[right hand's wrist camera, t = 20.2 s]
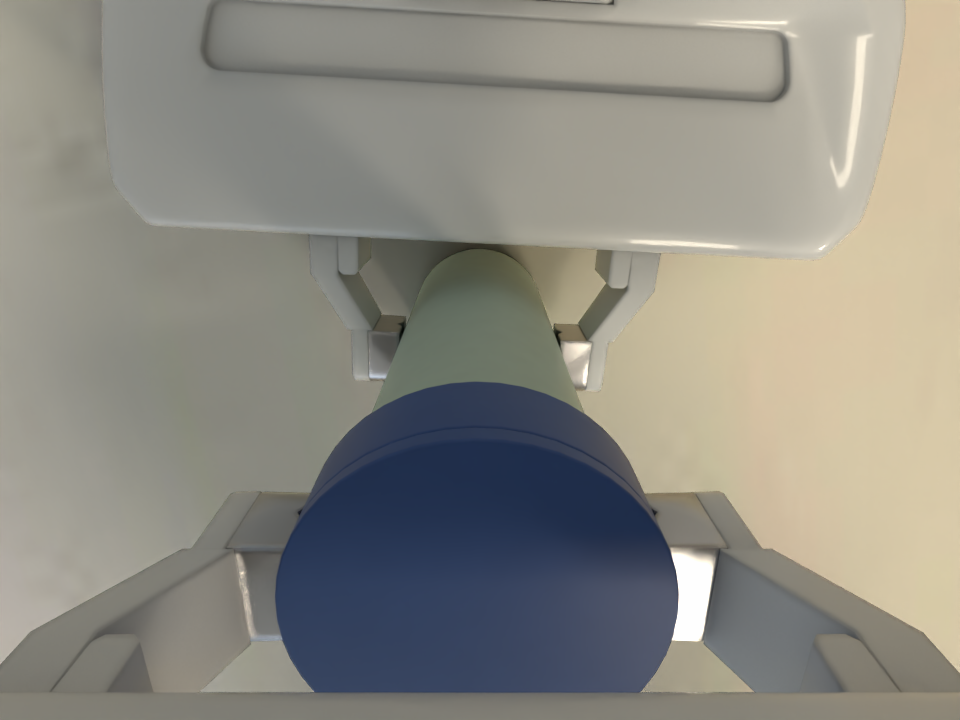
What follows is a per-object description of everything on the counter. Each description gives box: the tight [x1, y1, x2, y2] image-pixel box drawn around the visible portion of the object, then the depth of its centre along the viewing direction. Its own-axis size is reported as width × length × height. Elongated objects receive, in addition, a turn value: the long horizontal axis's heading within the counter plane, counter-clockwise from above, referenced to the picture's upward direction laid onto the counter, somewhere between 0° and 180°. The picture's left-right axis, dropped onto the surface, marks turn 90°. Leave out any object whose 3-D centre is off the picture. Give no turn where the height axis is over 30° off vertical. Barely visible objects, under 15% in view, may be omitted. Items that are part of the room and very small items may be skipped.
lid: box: [275, 382, 679, 693], centre depth 9 cm, size 6×6×2 cm
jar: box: [372, 249, 584, 413], centre depth 16 cm, size 5×5×15 cm
